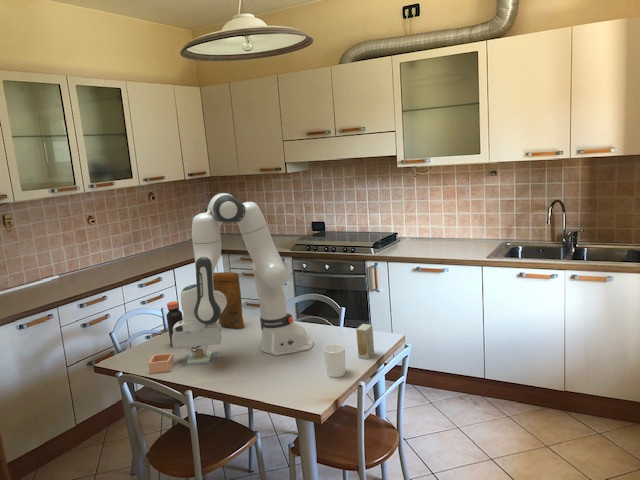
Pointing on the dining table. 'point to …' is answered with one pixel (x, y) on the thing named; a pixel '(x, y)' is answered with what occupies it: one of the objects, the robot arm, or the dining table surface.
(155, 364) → the peach storage bin
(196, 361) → the lid
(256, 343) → the dining table surface
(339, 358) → the white cup
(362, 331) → the skincare box
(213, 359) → the mat
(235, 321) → the pancake mix bag
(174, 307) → the vinegar
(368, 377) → the dining table surface
